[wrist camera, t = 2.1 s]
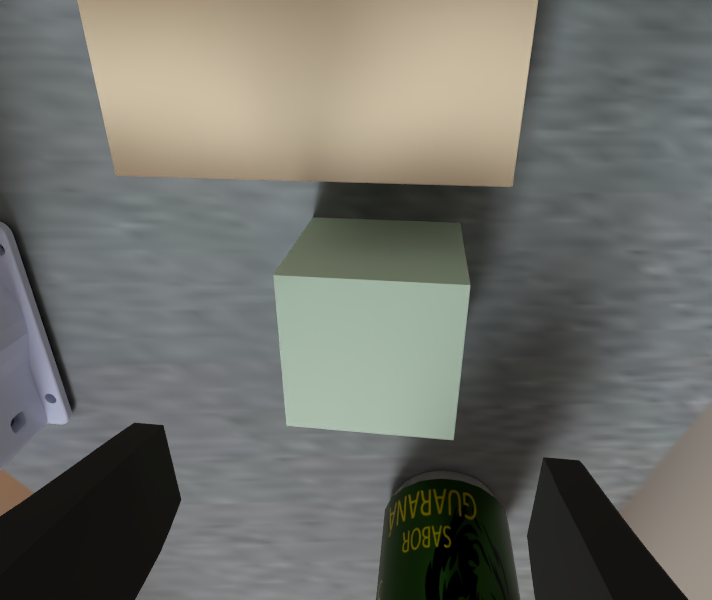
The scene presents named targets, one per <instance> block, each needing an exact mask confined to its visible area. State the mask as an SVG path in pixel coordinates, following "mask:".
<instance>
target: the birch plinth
mask: <svg viewBox="0 0 712 600" xmlns="http://www.w3.org/2000/svg"><path fill="white" fill-rule="evenodd" d="M77 1H78V6H79V10H80V15H81V19H82V24H83V29H84V33H85V38H86V42H87V47H88V51H89V56H90V60H91V65H92V69H93V74H94V78H95V83H96V88H97V92H98V97H99V101H100V106H101V110H102V115H103V119H104V124H105V128H106V133H107V137H108V142H109V146H110V151H111V156H112V160H113V165H114V169H115V174H116V176H145V177H180V178H215V179H250V180H285V181H319V182H354V183H389V184H424V185H459V186H493V187H512V186H513V179H514V172H515V165H516V157H517V150H518V143H519V136H520V128H521V121H522V114H523V107H524V100H525V92H526V85H527V78H528V71H529V63H530V56H531V49H532V42H533V35H534V27H535V20H536V13H537V6H538V0H77Z"/></svg>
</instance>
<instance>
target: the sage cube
mask: <svg viewBox="0 0 712 600" xmlns="http://www.w3.org/2000/svg"><path fill="white" fill-rule="evenodd" d="M274 287H275V298H276V310H277V321H278V333H279V344H280V356H281V367H282V379H283V390H284V402H285V413H286V425H287V426H296V427H308V428H319V429H331V430H342V431H353V432H365V433H376V434H388V435H399V436H410V437H422V438H433V439H445V440H454V432H455V423H456V414H457V405H458V395H459V386H460V377H461V368H462V359H463V350H464V340H465V331H466V322H467V313H468V304H469V295H470V279H469V273H468V267H467V261H466V255H465V249H464V243H463V237H462V231H461V225H460V223H453V222H426V221H399V220H372V219H345V218H318V217H313V218H312V220H311V221H310V222H309V224H308V225H307V227H306V228H305V230H304V231H303V233H302V234H301V236H300V237H299V239H298V240H297V242H296V243H295V244H294V246H293V247H292V249H291V250H290V252H289V253H288V255H287V256H286V258H285V259H284V261H283V262H282V263H281V265H280V266H279V268H278V269H277V271H276V272H275V274H274Z"/></svg>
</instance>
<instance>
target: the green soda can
mask: <svg viewBox="0 0 712 600" xmlns="http://www.w3.org/2000/svg"><path fill="white" fill-rule="evenodd" d="M376 600H520V594H519V588H518V582H517V576H516V569H515V563H514V557H513V550H512V544H511V538H510V532H509V525H508V521H507V517H506V513H505V510H504V509H503V507H502V506H501V505H500V503H499V502H498V500H497V499H496V498H495V496H494V495H493V494H492V493H491V491H490V490H489V489H488V487H487V486H485V485H484V484H482V483H481V482H479V481H478V480H476V479H475V478H473V477H470V476H467V475H464V474H461V473H459V472H450V471H433V472H425V473H422V474H419V475H417V476H414V477H412V478H409V479H408V480H407V481H406V482H405V483H403V484H402V485H401V486H400V487H399V488H398V489H397V491H396V492H395V494H394V495H393V496H392V498H391V500H390V502H389V503H388V505H387V507H386V509H385V516H384V526H383V536H382V546H381V556H380V566H379V576H378V586H377V596H376Z"/></svg>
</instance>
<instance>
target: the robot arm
mask: <svg viewBox="0 0 712 600" xmlns="http://www.w3.org/2000/svg"><path fill="white" fill-rule="evenodd" d="M0 244H1V245H2V246H3V248H4V249H5V251H4V250H3V249H2V248H1V246H0V470H1V469H2V468H3V467H4V466H5V465H6V464H7V463H8V462H9V461H10V460H11V459H12V458H13V457H14V456H15V455H16V454H17V453H18V452H19V451H20V450H21V449H22V448H23V447H24V446H25V445H26V444H27V443H28V442H29V441H30V440H31V439H32V438H34V437H35V436H36V435H37V434H38V433H39V432H40V431H41V430H42V429H43V428H44V427H45V426H46V425H47V424H48V423H51V424H65V423H67V422H68V421H69V420H70V419H71V417H72V411H71V408H70V405H69V402H68V399H67V396H66V393H65V390H64V387H63V384H62V381H61V378H60V375H59V372H58V369H57V366H56V363H55V360H54V357H53V354H52V350H51V347H50V344H49V341H48V338H47V335H46V332H45V329H44V326H43V323H42V320H41V317H40V314H39V311H38V308H37V305H36V302H35V299H34V296H33V293H32V290H31V287H30V284H29V281H28V278H27V275H26V272H25V269H24V266H23V263H22V260H21V257H20V254H19V251H18V248H17V245H16V242H15V239H14V236H13V233H12V231H11V229H10V228H9V227H8V226H7V225H6V224H4V223H2V222H0ZM180 502H181V497H180V492H179V488H178V484H177V480H176V476H175V472H174V467H173V463H172V459H171V455H170V451H169V447H168V442H167V438H166V434H165V430H164V426H163V425H154V424H143V423H134V424H132V425H130V426H129V427H127V428H126V429H124V430H123V431H121V432H120V433H118V434H117V435H116V436H114V437H113V438H111V439H110V440H108V441H107V442H106V443H104V444H103V445H101V446H100V447H99V448H97V449H96V450H94V451H93V452H92V453H90V454H89V455H88V456H86V457H85V458H83V459H82V460H81V461H79V462H78V463H76V464H75V465H74V466H72V467H71V468H69V469H68V470H67V471H65V472H64V473H62V474H61V475H60V476H58V477H57V478H55V479H54V480H52V481H51V482H50V483H48V484H47V485H45V486H44V487H43V488H41V489H40V490H38V491H37V492H35V493H34V494H33V495H31V496H30V497H28V498H27V499H26V500H24V501H23V502H21V503H20V504H18V505H17V506H15V507H14V508H12V509H11V510H9V511H8V512H6V513H5V514H3V515H1V516H0V600H135V599H136V597H137V595H138V593H139V591H140V589H141V588H142V586H143V584H144V582H145V580H146V578H147V576H148V575H149V573H150V571H151V569H152V567H153V565H154V563H155V561H156V559H157V558H158V556H159V554H160V552H161V550H162V547H163V545H164V542H165V540H166V538H167V535H168V533H169V530H170V528H171V525H172V523H173V520H174V517H175V515H176V512H177V510H178V507H179V504H180ZM527 539H528V547H529V556H530V564H531V572H532V580H533V587H534V595H535V600H688V599H687V597H686V596H685V595H684V594H683V593H682V591H681V590H680V589H679V588H678V587H677V585H676V584H675V583H674V582H673V581H672V579H671V578H670V577H669V576H668V574H667V573H666V572H665V571H664V569H663V568H662V567H661V566H660V565H659V563H658V562H657V561H656V560H655V558H654V557H653V556H652V555H651V553H650V552H649V551H648V550H647V549H646V547H645V546H644V545H643V543H642V542H641V541H640V540H639V538H638V537H637V536H636V535H635V533H634V532H633V531H632V529H631V528H630V527H629V525H628V524H627V523H626V521H625V520H624V519H623V518H622V516H621V515H620V514H619V512H618V511H617V510H616V508H615V507H614V506H613V504H612V503H611V502H610V500H609V499H608V498H607V496H606V495H605V494H604V492H603V491H602V490H601V488H600V487H599V485H598V484H597V483H596V481H595V480H594V479H593V477H592V476H591V475H590V473H589V472H588V470H587V469H586V468H585V466H584V465H583V464H582V463H581V462H580V461H579V460H568V459H556V458H544V457H543V462H542V467H541V471H540V476H539V481H538V486H537V491H536V495H535V500H534V505H533V510H532V515H531V520H530V524H529V529H528V534H527Z"/></svg>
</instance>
